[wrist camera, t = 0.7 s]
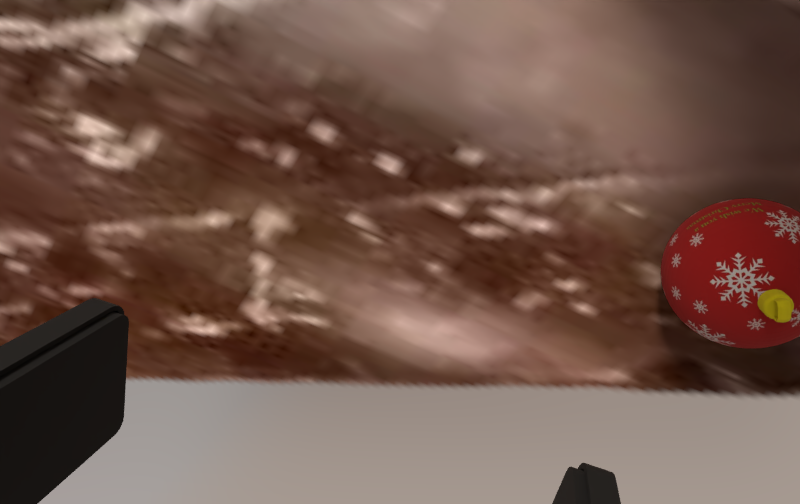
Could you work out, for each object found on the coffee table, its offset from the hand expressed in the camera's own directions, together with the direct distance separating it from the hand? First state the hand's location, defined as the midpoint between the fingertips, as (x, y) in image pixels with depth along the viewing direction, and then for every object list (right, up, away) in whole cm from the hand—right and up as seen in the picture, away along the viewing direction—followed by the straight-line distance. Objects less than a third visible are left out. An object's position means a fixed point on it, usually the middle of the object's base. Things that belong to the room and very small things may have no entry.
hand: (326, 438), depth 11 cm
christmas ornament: (+22, +4, +25) cm, 34 cm away
